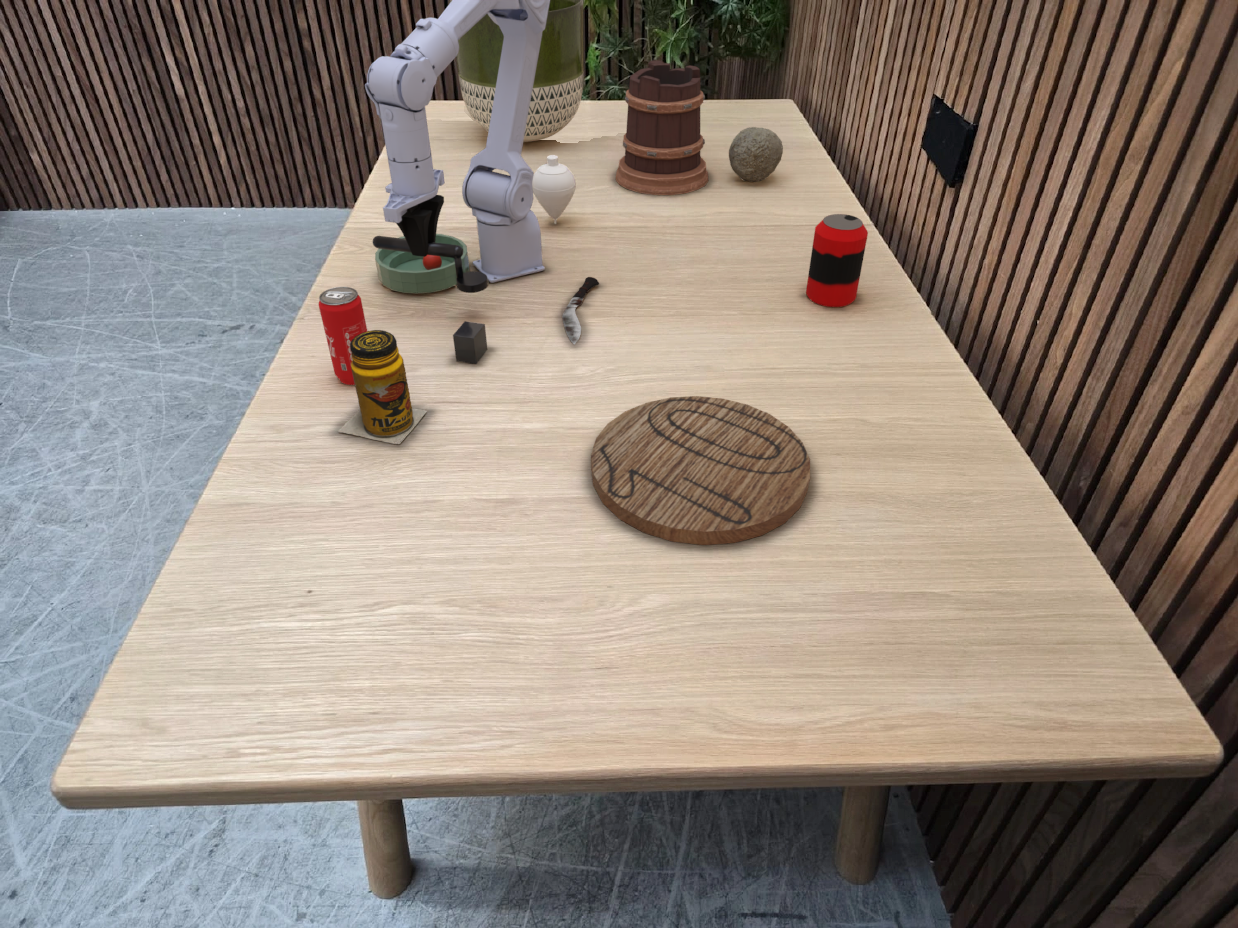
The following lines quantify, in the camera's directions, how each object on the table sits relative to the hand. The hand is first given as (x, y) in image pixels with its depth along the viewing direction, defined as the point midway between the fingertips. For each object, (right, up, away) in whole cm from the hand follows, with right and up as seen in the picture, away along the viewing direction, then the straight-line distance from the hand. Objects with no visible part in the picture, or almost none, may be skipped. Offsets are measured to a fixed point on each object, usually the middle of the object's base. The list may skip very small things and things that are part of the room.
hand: (423, 251), depth 126 cm
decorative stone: (+54, +25, +48) cm, 77 cm away
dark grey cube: (+7, -15, -3) cm, 17 cm away
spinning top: (+16, +12, +32) cm, 38 cm away
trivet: (+37, -31, -23) cm, 53 cm away
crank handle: (+1, -4, +3) cm, 4 cm away
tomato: (-2, +2, +15) cm, 16 cm away
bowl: (-3, 0, +16) cm, 16 cm away
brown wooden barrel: (+36, +28, +51) cm, 68 cm away
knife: (+22, -8, +6) cm, 24 cm away
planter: (+7, +42, +69) cm, 81 cm away
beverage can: (-7, -19, -7) cm, 21 cm away
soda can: (+60, -5, +11) cm, 61 cm away
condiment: (-2, -25, -15) cm, 30 cm away
